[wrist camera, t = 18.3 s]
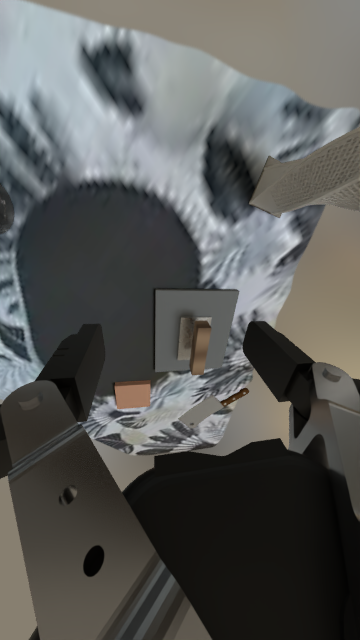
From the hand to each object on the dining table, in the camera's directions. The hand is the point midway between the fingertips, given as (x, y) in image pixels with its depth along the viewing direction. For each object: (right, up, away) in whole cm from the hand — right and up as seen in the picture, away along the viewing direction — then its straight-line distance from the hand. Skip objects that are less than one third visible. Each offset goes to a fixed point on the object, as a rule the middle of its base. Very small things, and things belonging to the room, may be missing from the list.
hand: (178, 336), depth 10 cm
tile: (-12, -16, +38) cm, 43 cm away
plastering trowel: (+3, -4, +34) cm, 34 cm away
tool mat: (+3, -2, +34) cm, 35 cm away
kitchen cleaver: (+11, -26, +50) cm, 57 cm away
